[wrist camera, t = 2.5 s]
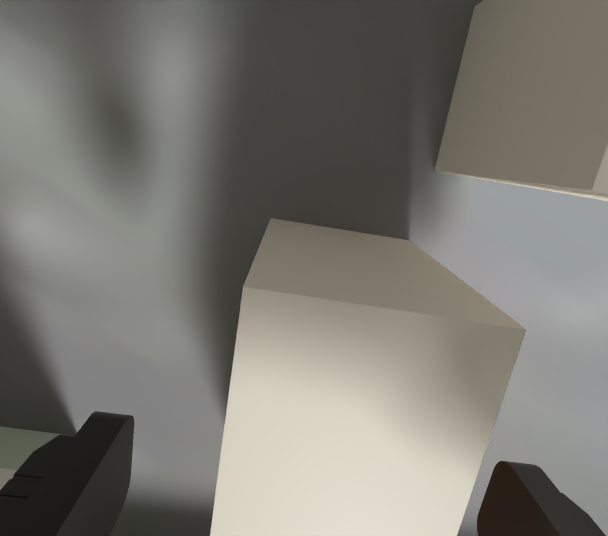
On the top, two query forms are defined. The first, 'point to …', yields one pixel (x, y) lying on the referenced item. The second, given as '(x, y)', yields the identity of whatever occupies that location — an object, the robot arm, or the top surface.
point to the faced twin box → (532, 97)
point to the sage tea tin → (18, 449)
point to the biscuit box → (357, 389)
